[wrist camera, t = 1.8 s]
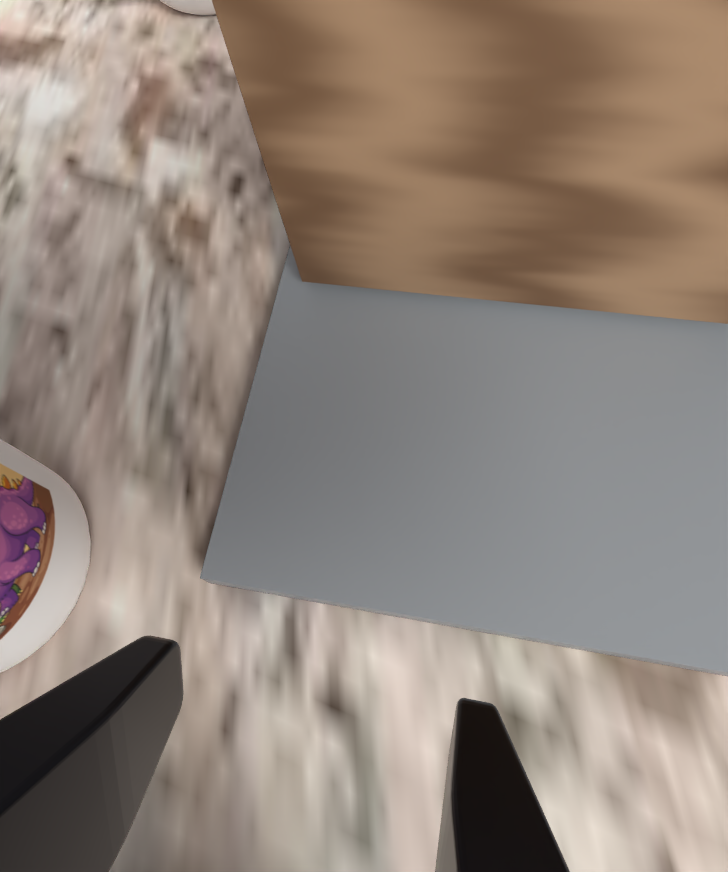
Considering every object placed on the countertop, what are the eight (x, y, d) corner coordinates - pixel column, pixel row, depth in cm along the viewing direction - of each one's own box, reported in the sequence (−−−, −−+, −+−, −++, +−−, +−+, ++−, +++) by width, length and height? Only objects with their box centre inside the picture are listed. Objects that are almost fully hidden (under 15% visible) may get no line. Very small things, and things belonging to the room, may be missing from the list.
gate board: (209, 582, 22) (199, 577, 21) (319, 168, 28) (315, 150, 27) (1101, 743, 18) (1138, 745, 17) (1000, 215, 24) (1022, 196, 23)
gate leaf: (730, 285, 23) (1053, -167, 11) (731, 325, 22) (1072, -106, 10) (310, 247, 25) (198, -156, 13) (301, 282, 24) (176, -106, 13)
